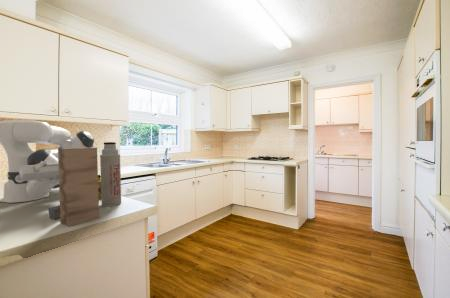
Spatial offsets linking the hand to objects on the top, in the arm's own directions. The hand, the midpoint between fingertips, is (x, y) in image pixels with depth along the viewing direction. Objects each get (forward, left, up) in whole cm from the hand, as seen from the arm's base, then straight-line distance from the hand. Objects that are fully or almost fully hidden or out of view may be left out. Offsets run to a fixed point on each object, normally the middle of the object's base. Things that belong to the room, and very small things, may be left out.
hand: (58, 161), depth 87 cm
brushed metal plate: (+3, +2, -14) cm, 14 cm away
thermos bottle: (-4, +18, -21) cm, 28 cm away
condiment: (-16, +10, -21) cm, 28 cm away
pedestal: (+14, +8, -20) cm, 26 cm away
